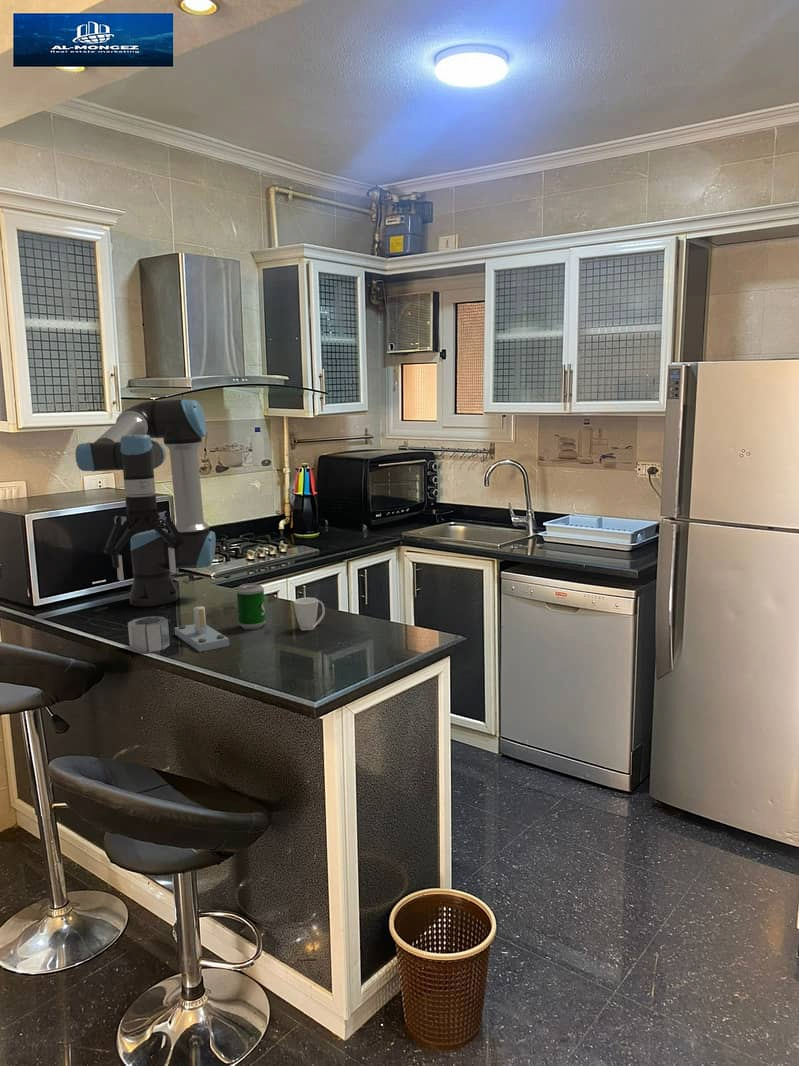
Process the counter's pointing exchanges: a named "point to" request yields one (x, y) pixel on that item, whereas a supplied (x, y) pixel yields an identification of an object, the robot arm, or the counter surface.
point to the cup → (308, 612)
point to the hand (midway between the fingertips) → (147, 576)
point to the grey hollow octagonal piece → (148, 634)
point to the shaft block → (201, 633)
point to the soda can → (251, 606)
